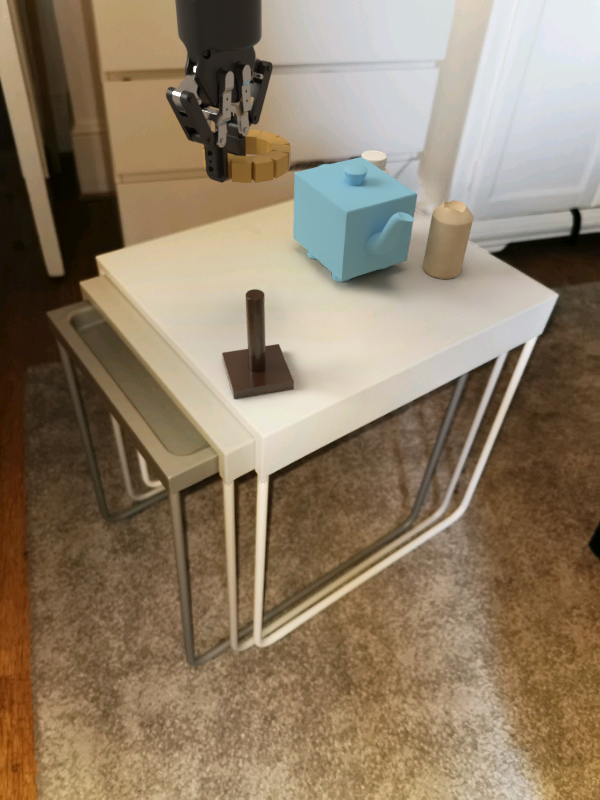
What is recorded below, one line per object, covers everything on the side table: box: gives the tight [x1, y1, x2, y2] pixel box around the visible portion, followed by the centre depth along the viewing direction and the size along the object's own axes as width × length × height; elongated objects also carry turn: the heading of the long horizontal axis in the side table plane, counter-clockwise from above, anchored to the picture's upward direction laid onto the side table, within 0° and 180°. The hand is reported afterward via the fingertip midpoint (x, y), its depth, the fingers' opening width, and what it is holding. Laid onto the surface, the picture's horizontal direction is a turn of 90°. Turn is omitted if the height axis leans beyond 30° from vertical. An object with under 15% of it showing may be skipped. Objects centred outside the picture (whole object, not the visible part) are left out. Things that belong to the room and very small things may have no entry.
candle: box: [422, 199, 474, 280], centre depth 89 cm, size 6×6×10 cm
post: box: [221, 288, 295, 400], centre depth 71 cm, size 7×7×11 cm
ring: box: [201, 129, 292, 184], centre depth 68 cm, size 9×9×2 cm
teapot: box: [292, 156, 418, 283], centre depth 88 cm, size 22×11×14 cm, turn 30°
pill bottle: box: [360, 149, 390, 175], centre depth 102 cm, size 5×5×9 cm
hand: (226, 174), depth 67 cm, fingers closed on ring, 2 cm apart
